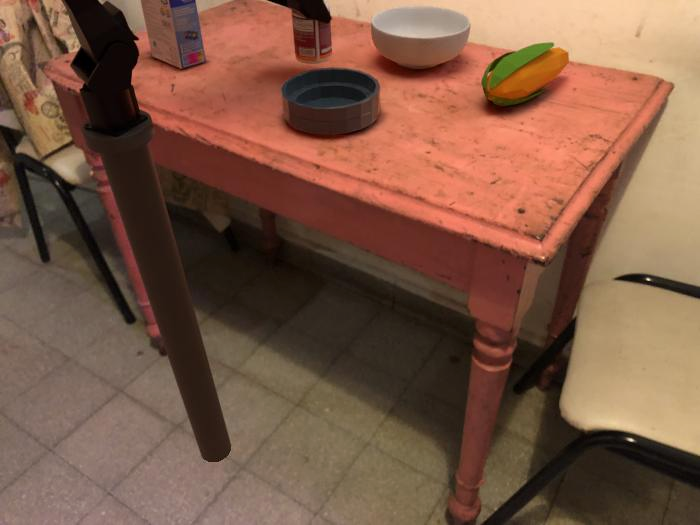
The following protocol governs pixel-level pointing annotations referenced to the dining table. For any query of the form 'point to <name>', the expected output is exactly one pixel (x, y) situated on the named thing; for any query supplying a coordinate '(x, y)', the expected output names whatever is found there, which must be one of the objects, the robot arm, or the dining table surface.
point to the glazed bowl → (331, 100)
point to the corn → (523, 73)
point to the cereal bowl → (420, 35)
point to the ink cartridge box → (174, 31)
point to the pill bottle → (312, 39)
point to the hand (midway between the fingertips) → (318, 16)
